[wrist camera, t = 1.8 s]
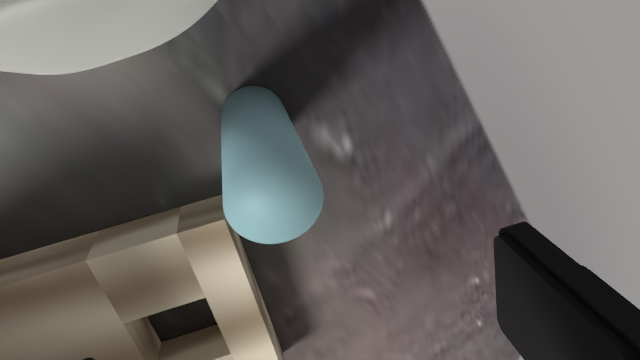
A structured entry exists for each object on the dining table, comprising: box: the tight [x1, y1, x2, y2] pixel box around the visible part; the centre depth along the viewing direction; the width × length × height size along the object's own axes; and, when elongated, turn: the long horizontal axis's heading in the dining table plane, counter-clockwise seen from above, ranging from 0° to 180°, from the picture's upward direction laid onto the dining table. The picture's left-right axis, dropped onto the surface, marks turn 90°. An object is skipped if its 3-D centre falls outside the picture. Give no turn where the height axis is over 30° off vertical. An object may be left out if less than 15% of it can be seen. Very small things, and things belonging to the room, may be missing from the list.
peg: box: [221, 86, 324, 244], centre depth 20 cm, size 4×4×10 cm
